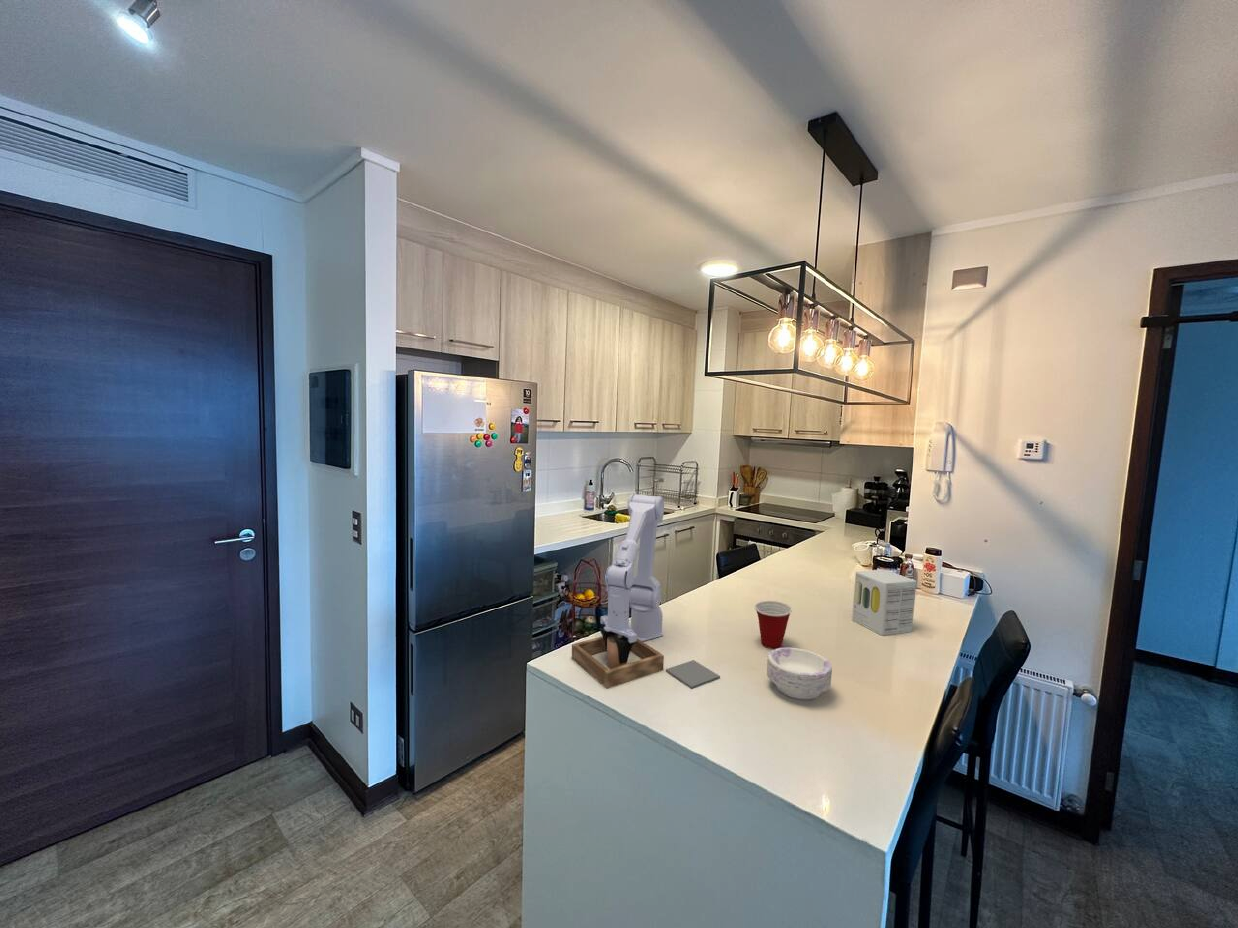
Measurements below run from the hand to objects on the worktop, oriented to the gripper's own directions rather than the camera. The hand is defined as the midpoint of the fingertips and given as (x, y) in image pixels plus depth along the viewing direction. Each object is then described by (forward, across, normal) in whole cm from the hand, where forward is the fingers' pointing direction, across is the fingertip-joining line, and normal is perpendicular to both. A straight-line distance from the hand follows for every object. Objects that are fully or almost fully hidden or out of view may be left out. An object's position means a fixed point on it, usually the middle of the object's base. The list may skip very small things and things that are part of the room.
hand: (616, 657), depth 132 cm
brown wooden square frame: (+2, 0, 0) cm, 2 cm away
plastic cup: (+2, +14, +47) cm, 49 cm away
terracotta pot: (+2, 0, 0) cm, 2 cm away
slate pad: (+2, +15, +14) cm, 21 cm away
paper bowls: (+2, +34, +32) cm, 47 cm away
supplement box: (+2, +24, +92) cm, 95 cm away
